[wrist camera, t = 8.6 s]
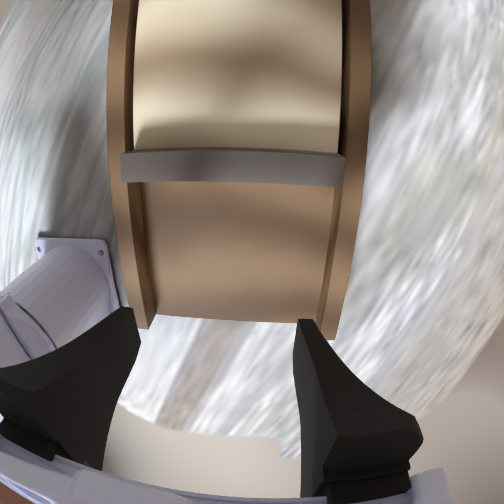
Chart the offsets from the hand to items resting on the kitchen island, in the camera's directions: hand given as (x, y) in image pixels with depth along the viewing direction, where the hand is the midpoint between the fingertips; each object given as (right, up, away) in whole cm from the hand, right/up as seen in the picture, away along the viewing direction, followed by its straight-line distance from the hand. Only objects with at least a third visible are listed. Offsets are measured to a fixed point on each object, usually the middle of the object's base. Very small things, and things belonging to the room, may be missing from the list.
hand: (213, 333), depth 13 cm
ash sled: (+1, +14, +3) cm, 14 cm away
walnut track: (+1, +11, +5) cm, 13 cm away
